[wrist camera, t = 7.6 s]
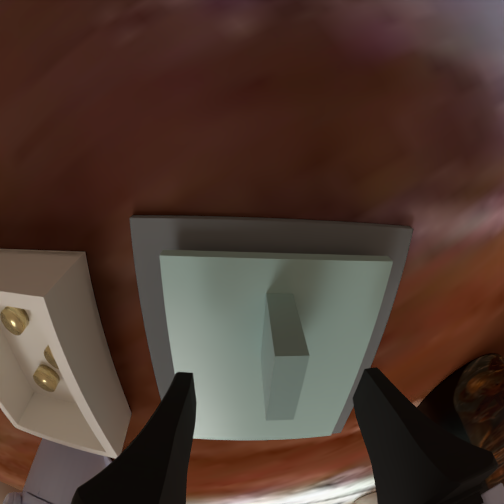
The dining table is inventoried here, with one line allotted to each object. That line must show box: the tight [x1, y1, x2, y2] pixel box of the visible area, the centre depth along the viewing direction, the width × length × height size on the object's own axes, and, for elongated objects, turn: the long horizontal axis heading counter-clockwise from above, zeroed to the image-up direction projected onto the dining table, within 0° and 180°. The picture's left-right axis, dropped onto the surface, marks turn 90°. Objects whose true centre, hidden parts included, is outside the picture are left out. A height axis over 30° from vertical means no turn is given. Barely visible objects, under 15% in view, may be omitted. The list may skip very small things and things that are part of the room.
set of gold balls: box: [0, 306, 60, 392], centre depth 16 cm, size 8×5×1 cm, turn 177°
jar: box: [418, 354, 504, 495], centre depth 16 cm, size 12×12×15 cm
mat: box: [130, 215, 413, 434], centre depth 18 cm, size 18×14×1 cm
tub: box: [0, 249, 132, 459], centre depth 15 cm, size 14×10×4 cm
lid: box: [160, 250, 393, 440], centre depth 15 cm, size 14×10×6 cm
